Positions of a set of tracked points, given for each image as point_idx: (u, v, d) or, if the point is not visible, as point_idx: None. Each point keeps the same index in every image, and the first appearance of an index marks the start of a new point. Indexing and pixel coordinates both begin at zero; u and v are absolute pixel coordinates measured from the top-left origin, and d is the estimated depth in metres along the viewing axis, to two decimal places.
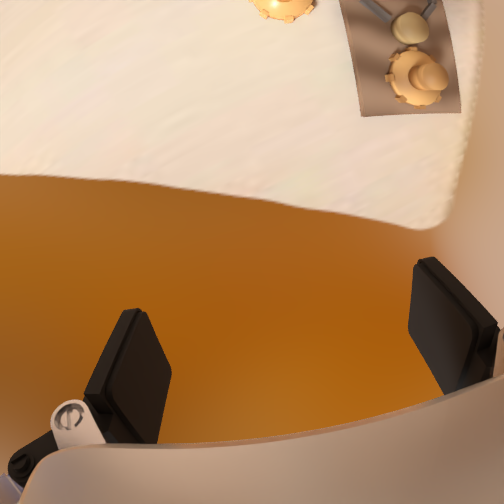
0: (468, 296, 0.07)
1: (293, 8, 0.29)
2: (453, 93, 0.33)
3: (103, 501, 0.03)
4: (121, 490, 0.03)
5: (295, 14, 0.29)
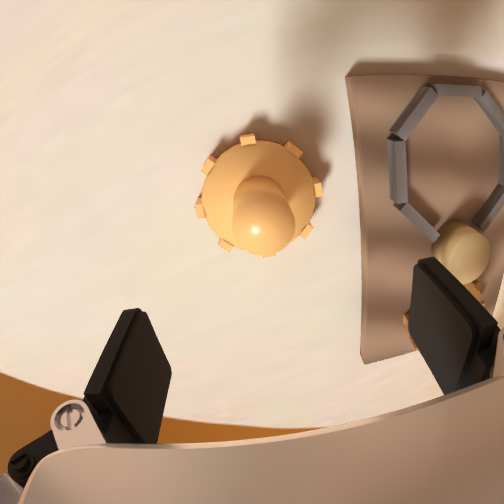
0: (468, 296, 0.07)
1: None
2: (488, 307, 0.26)
3: (103, 501, 0.03)
4: (121, 490, 0.03)
5: None
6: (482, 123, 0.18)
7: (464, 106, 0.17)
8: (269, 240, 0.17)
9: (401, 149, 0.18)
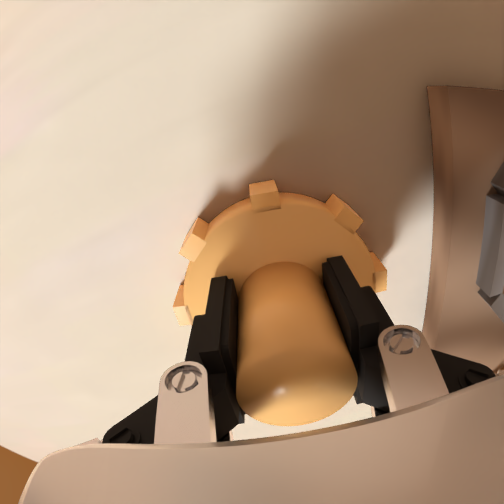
0: (358, 294, 0.09)
1: None
2: None
3: (103, 501, 0.03)
4: (121, 490, 0.03)
5: None
6: None
7: None
8: (306, 408, 0.08)
9: None
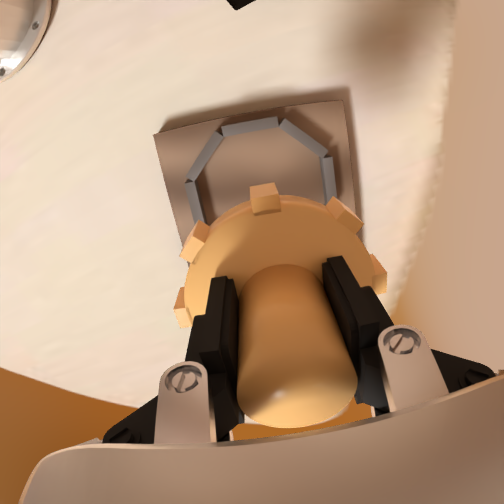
0: (358, 294, 0.09)
1: None
2: None
3: (103, 501, 0.03)
4: (121, 490, 0.03)
5: None
6: (293, 149, 0.24)
7: (268, 137, 0.24)
8: (306, 411, 0.08)
9: (191, 188, 0.24)
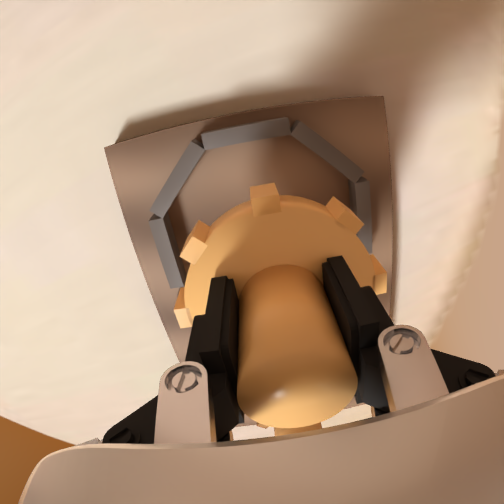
0: (358, 294, 0.09)
1: None
2: None
3: (103, 501, 0.03)
4: (121, 490, 0.03)
5: None
6: (310, 168, 0.16)
7: (273, 149, 0.16)
8: (306, 411, 0.08)
9: (159, 228, 0.16)
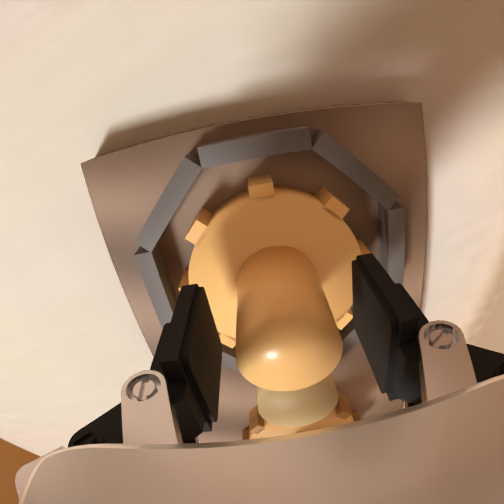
0: (394, 291, 0.08)
1: None
2: None
3: (103, 501, 0.03)
4: (121, 490, 0.03)
5: None
6: (334, 190, 0.13)
7: (288, 166, 0.13)
8: (297, 373, 0.10)
9: (147, 264, 0.13)
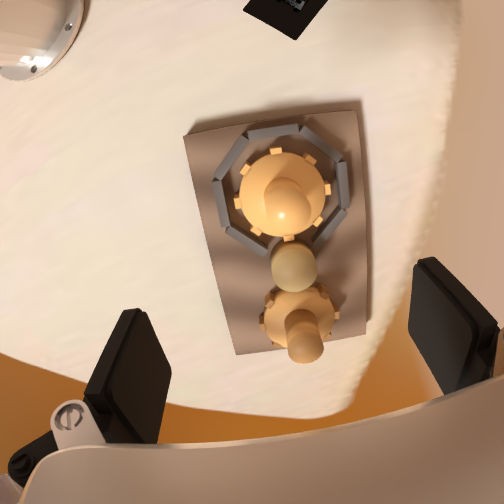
0: (468, 296, 0.07)
1: None
2: (357, 317, 0.34)
3: (103, 501, 0.03)
4: (121, 490, 0.03)
5: (297, 232, 0.28)
6: (310, 154, 0.27)
7: (288, 142, 0.26)
8: (292, 222, 0.23)
9: (218, 187, 0.27)
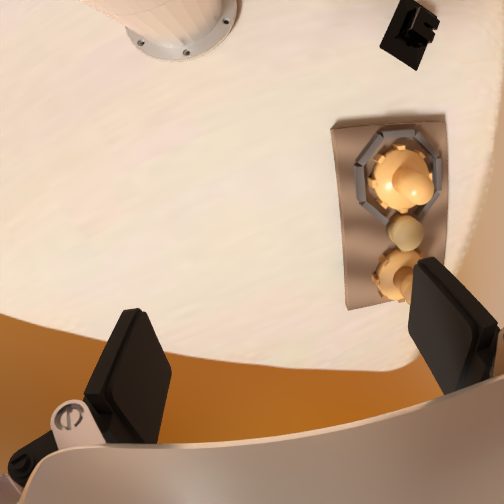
0: (468, 296, 0.07)
1: (409, 200, 0.35)
2: None
3: (103, 501, 0.03)
4: (121, 490, 0.03)
5: (410, 207, 0.35)
6: None
7: (404, 142, 0.33)
8: (423, 197, 0.30)
9: (361, 171, 0.34)
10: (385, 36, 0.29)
